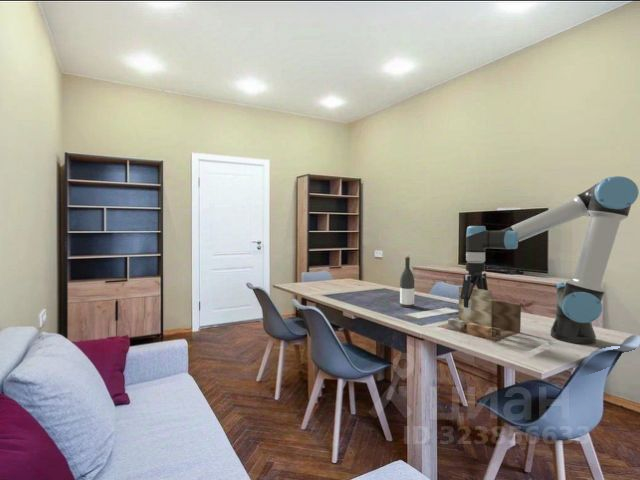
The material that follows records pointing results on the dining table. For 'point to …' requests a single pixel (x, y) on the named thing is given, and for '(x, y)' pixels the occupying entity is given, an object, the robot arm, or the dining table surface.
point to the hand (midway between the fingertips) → (474, 313)
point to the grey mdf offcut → (456, 324)
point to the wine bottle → (407, 286)
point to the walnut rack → (500, 320)
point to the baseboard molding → (432, 313)
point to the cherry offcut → (479, 330)
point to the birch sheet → (477, 307)
